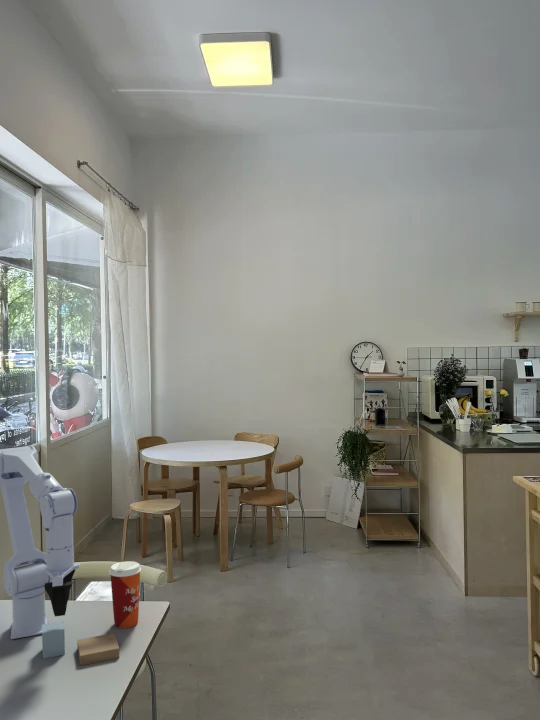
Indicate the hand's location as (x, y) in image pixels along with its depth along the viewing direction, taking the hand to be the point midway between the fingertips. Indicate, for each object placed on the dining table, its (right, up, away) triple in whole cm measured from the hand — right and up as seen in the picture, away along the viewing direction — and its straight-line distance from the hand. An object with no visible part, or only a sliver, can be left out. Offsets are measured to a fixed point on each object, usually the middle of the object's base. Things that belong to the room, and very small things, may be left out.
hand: (61, 608), depth 129 cm
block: (-2, -10, +1) cm, 10 cm away
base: (+8, -10, 0) cm, 13 cm away
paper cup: (+11, -10, +15) cm, 21 cm away
